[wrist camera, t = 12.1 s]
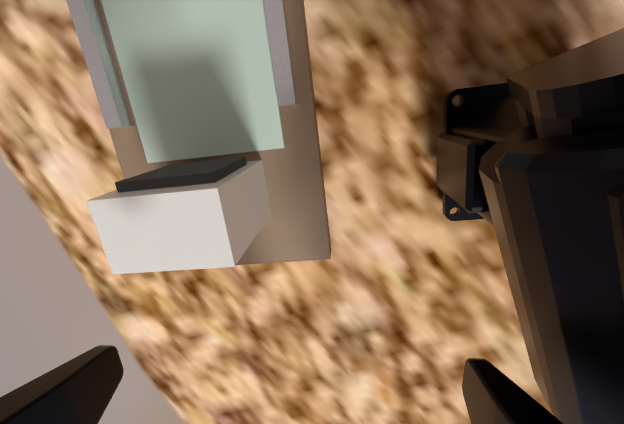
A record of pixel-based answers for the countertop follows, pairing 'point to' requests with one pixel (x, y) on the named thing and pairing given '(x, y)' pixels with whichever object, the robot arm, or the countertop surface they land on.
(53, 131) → the countertop surface
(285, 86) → the rail guides
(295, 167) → the rail board
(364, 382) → the countertop surface
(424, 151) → the countertop surface
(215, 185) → the block
